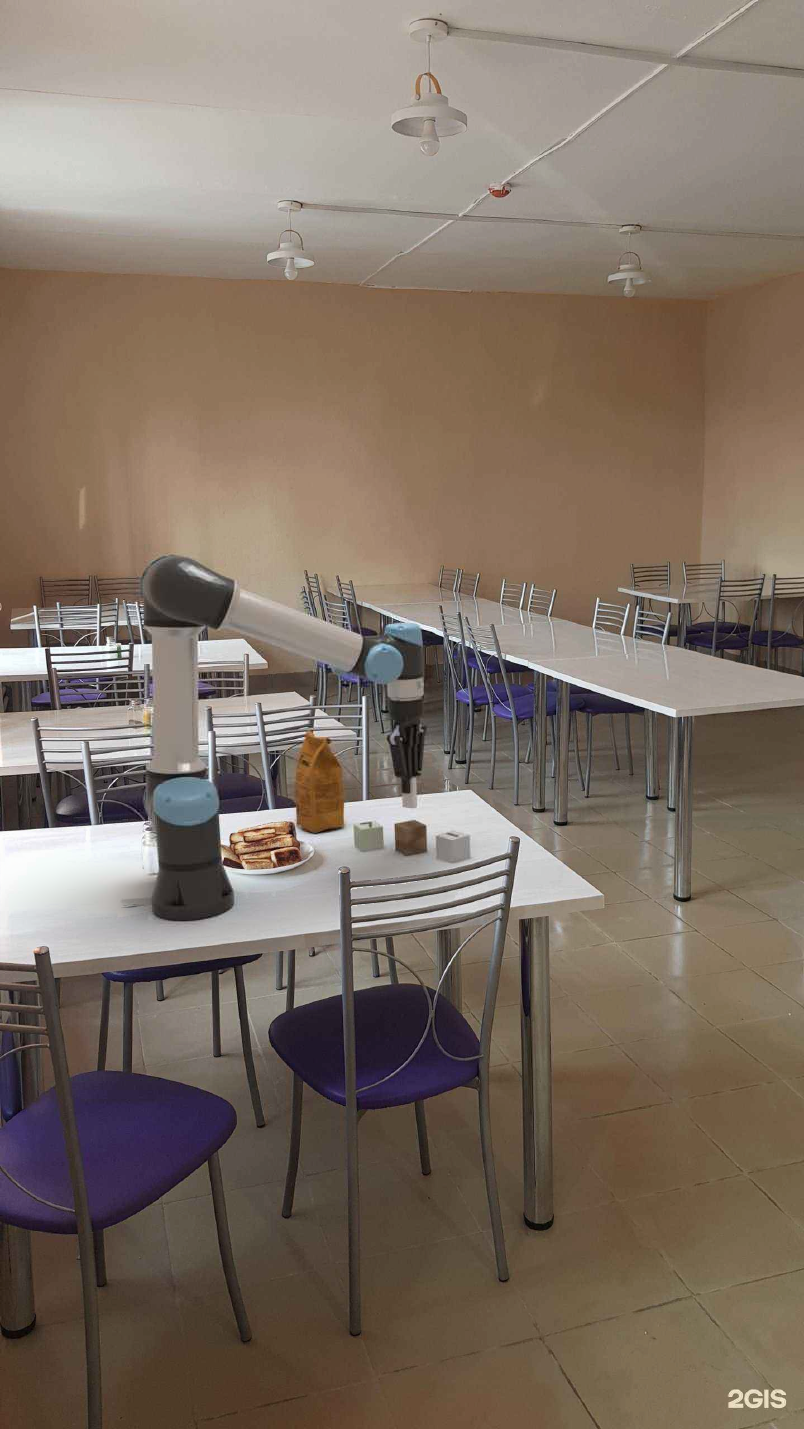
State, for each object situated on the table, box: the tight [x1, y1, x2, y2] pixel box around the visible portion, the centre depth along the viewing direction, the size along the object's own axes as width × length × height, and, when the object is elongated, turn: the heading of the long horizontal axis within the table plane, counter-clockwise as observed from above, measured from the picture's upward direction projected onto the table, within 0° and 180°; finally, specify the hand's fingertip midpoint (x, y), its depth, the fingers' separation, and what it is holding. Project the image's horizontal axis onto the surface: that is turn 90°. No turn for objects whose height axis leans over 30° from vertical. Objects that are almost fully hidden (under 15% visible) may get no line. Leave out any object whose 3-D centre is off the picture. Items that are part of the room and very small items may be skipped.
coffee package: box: [294, 730, 345, 834], centre depth 246 cm, size 10×12×22 cm
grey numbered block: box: [435, 829, 471, 864], centre depth 221 cm, size 5×5×5 cm
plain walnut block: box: [394, 819, 428, 857], centre depth 226 cm, size 5×5×6 cm
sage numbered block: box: [353, 820, 385, 853], centre depth 231 cm, size 5×5×5 cm
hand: (409, 806), depth 225 cm, fingers closed
